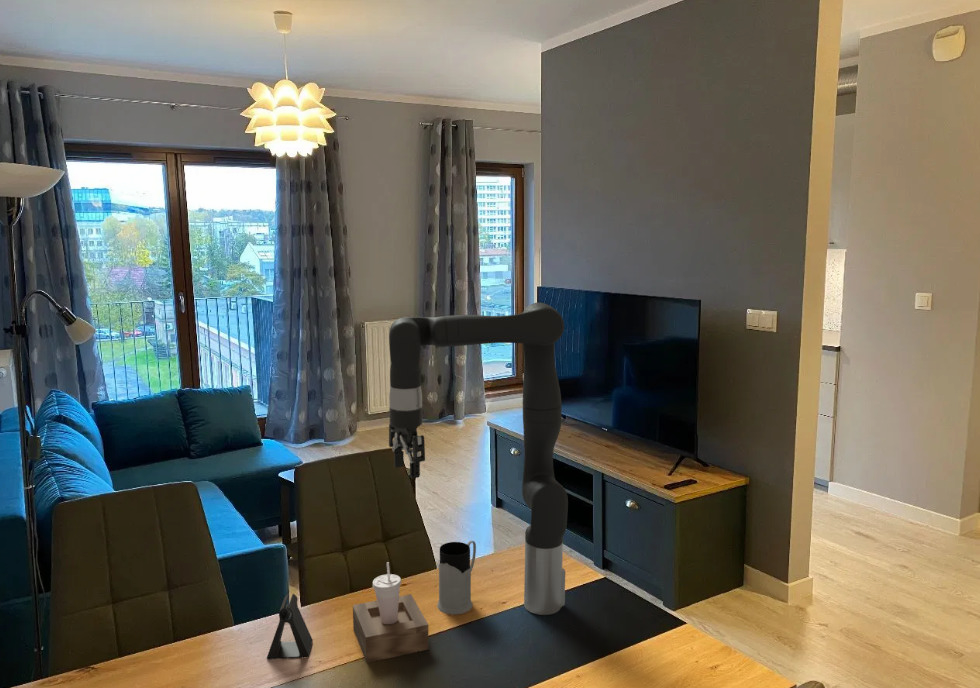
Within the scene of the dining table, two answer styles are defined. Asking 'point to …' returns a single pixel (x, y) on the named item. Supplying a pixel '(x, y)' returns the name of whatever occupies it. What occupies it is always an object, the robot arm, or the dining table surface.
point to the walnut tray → (390, 630)
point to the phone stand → (299, 631)
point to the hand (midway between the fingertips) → (406, 472)
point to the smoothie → (387, 596)
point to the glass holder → (455, 577)
